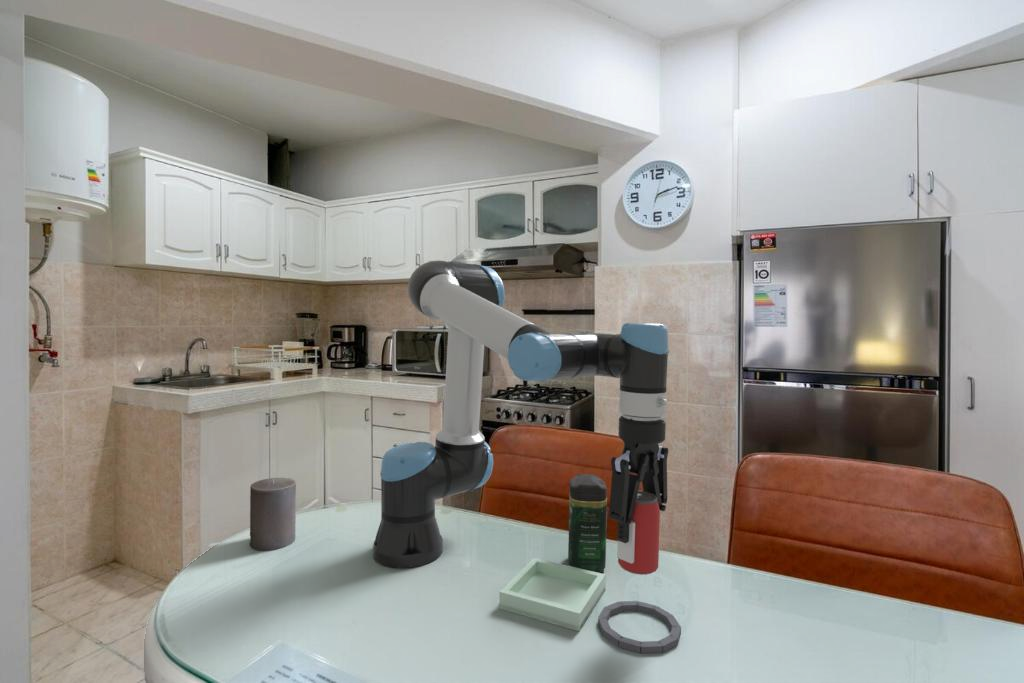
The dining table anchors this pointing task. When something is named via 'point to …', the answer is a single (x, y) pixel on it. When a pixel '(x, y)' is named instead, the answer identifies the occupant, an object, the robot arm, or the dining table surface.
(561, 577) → the bin
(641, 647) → the socket ring
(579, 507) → the coffee jar
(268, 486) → the pillar candle
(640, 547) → the beer can
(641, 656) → the dining table surface
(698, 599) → the dining table surface
